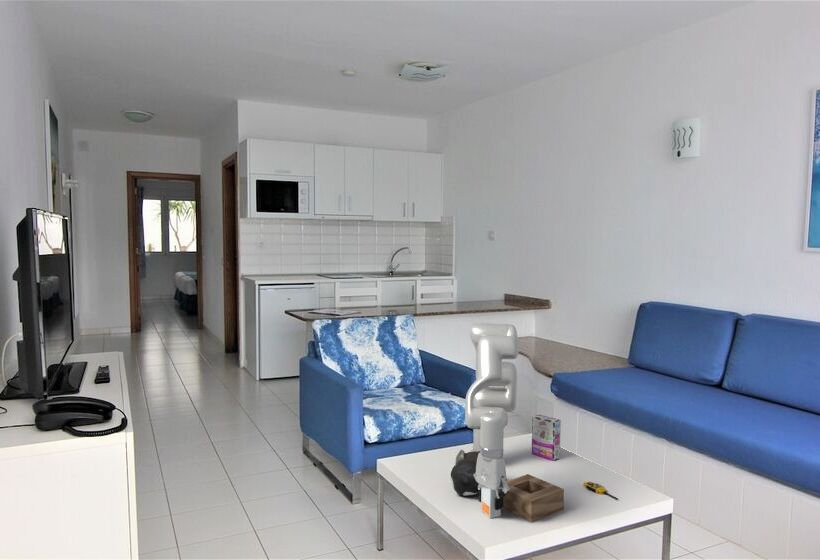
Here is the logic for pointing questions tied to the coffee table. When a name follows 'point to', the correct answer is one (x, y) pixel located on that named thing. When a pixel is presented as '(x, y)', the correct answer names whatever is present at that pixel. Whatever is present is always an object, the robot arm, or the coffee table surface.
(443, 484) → the coffee table surface
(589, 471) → the coffee table surface
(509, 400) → the robot arm
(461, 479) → the dark grey rounded piece
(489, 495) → the skincare box
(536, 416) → the candy bar box
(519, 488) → the socket block
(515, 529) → the coffee table surface
